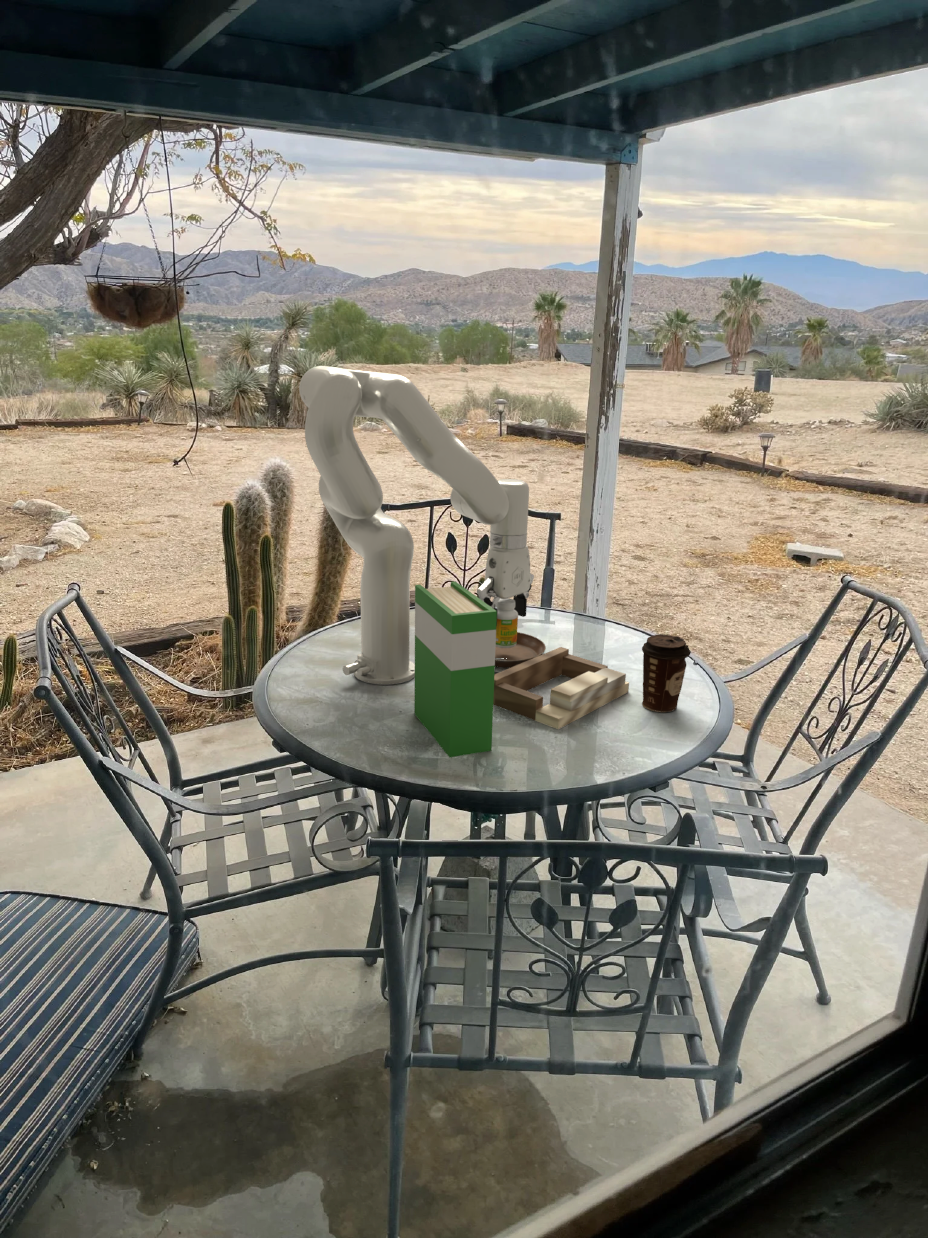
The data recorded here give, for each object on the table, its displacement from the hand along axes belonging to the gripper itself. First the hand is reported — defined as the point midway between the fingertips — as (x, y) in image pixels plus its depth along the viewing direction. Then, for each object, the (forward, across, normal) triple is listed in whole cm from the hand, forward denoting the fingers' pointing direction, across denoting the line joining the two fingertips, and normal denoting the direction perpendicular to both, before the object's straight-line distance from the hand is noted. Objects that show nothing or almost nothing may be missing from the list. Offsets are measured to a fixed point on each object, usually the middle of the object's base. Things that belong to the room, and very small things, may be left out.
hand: (505, 620), depth 179 cm
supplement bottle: (+6, 0, 0) cm, 6 cm away
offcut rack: (+8, -10, -21) cm, 25 cm away
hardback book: (+8, -35, -17) cm, 40 cm away
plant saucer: (+9, 0, 0) cm, 9 cm away
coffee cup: (+8, 0, -38) cm, 38 cm away
